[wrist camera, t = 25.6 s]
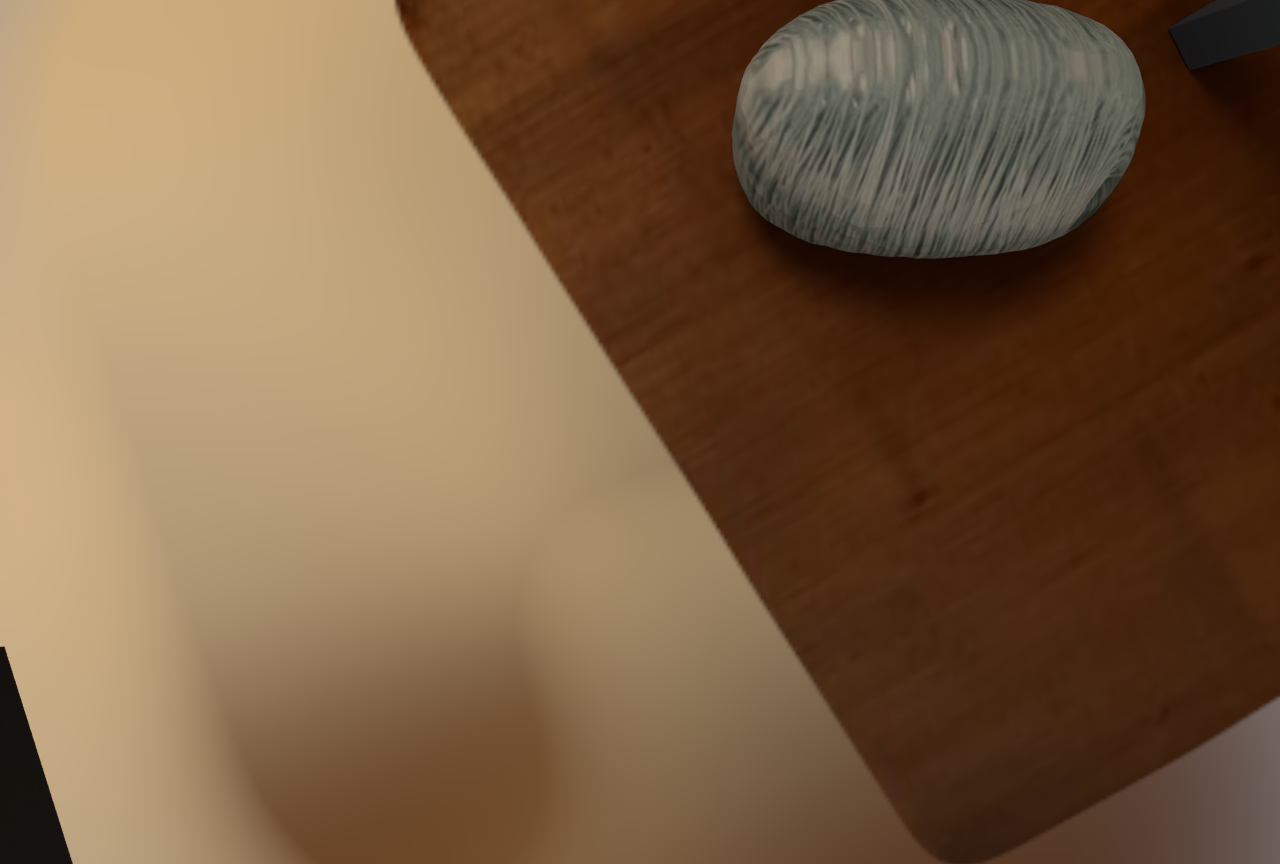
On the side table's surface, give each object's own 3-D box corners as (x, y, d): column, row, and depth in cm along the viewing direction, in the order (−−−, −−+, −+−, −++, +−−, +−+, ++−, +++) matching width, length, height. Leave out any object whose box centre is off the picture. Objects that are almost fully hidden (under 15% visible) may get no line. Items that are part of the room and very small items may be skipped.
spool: (1104, 70, 44) (1150, -122, 34) (1132, 297, 41) (1190, 155, 32) (752, 113, 47) (707, -51, 38) (756, 328, 44) (708, 207, 35)
